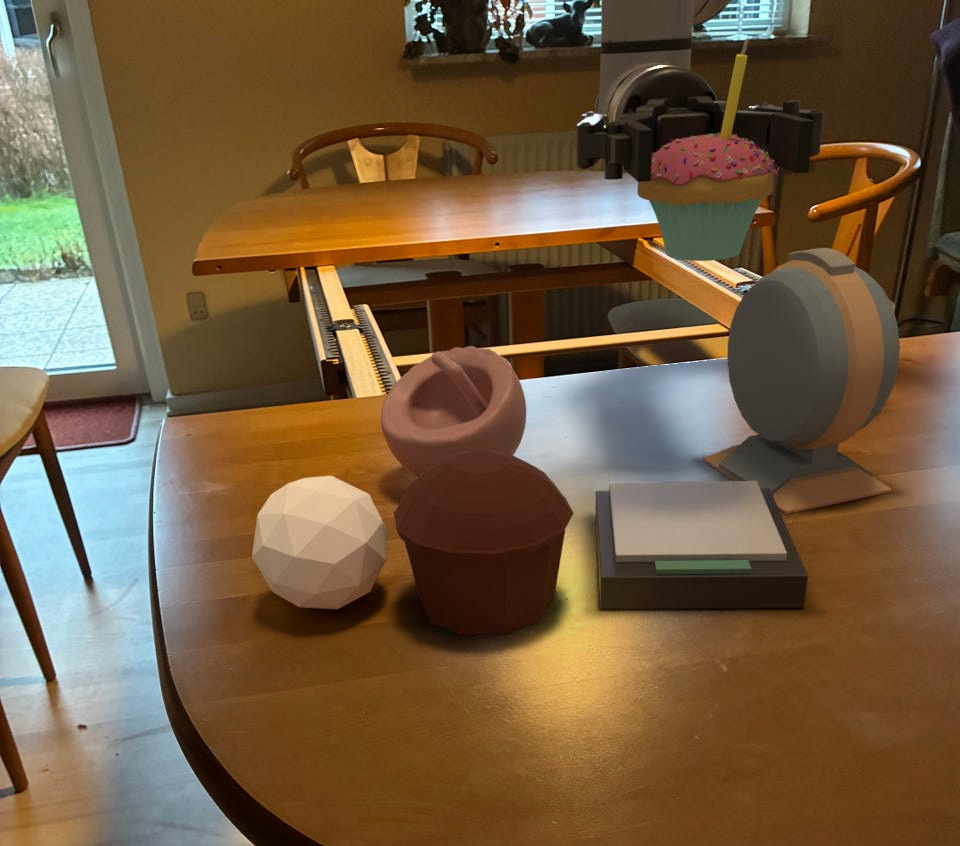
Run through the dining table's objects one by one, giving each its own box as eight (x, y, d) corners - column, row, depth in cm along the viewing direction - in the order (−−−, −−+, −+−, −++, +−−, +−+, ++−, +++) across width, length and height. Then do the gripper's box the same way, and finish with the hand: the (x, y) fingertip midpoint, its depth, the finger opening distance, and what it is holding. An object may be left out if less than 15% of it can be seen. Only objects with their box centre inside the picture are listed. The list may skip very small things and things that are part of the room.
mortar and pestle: (359, 492, 83) (342, 356, 77) (445, 447, 91) (436, 321, 85) (473, 522, 77) (464, 377, 71) (554, 470, 85) (553, 337, 79)
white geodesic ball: (425, 590, 64) (380, 538, 74) (364, 467, 59) (325, 430, 70) (306, 655, 63) (278, 594, 73) (235, 535, 58) (216, 488, 69)
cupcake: (788, 246, 65) (810, 34, 59) (737, 272, 59) (756, 39, 53) (669, 239, 69) (678, 40, 63) (611, 262, 64) (615, 46, 57)
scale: (766, 516, 75) (770, 480, 73) (803, 608, 63) (809, 567, 61) (595, 519, 76) (595, 483, 74) (600, 609, 64) (601, 569, 63)
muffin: (373, 593, 68) (356, 456, 62) (506, 548, 73) (501, 417, 67) (463, 669, 59) (453, 517, 54) (608, 612, 64) (611, 468, 59)
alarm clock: (900, 496, 77) (945, 258, 68) (793, 519, 74) (825, 275, 65) (792, 438, 88) (818, 229, 79) (697, 456, 86) (712, 242, 77)
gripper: (793, 167, 78) (898, 211, 59) (526, 182, 78) (542, 230, 59) (805, 57, 74) (921, 66, 55) (523, 74, 74) (540, 88, 55)
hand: (724, 151), depth 57 cm, fingers closed on cupcake, 8 cm apart
